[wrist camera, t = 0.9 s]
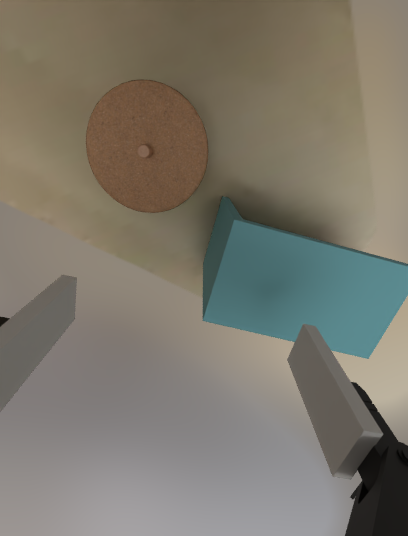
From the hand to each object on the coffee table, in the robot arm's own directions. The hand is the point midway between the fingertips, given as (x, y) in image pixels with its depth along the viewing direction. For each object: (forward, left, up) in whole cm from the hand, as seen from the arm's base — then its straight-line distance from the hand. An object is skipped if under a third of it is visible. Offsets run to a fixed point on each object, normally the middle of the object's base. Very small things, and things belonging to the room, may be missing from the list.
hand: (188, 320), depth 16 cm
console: (-1, +10, -20) cm, 22 cm away
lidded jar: (-8, -6, -20) cm, 23 cm away
